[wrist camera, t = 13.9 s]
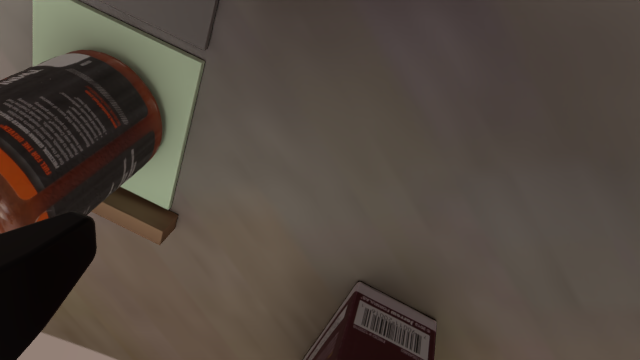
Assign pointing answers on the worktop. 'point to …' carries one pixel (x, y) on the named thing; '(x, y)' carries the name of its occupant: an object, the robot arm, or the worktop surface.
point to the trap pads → (174, 17)
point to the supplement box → (375, 330)
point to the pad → (147, 62)
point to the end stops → (138, 215)
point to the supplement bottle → (71, 135)
